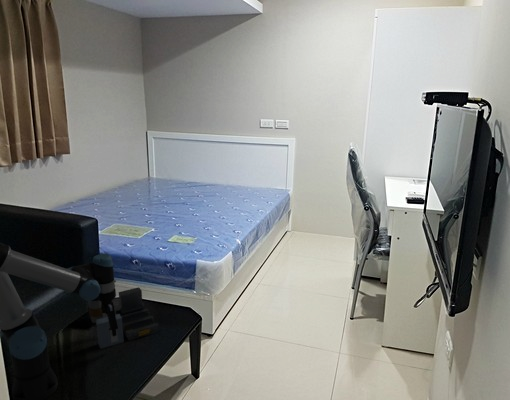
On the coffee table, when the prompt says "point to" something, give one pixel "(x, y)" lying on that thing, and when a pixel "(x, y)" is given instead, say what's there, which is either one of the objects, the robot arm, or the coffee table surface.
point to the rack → (135, 315)
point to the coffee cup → (95, 310)
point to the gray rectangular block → (108, 332)
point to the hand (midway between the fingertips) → (110, 333)
